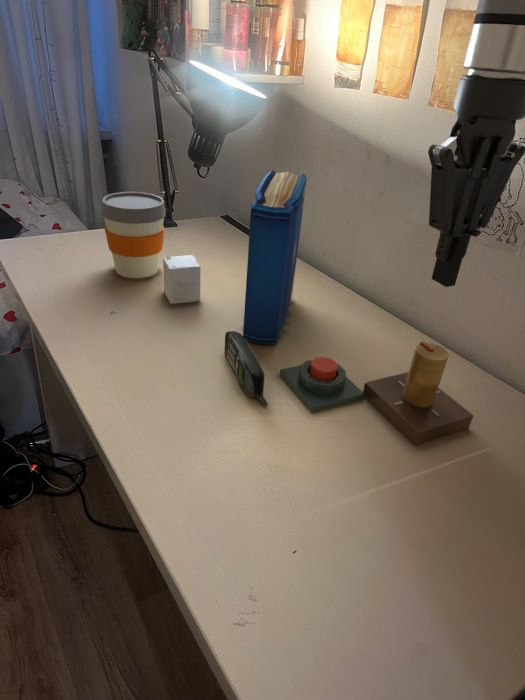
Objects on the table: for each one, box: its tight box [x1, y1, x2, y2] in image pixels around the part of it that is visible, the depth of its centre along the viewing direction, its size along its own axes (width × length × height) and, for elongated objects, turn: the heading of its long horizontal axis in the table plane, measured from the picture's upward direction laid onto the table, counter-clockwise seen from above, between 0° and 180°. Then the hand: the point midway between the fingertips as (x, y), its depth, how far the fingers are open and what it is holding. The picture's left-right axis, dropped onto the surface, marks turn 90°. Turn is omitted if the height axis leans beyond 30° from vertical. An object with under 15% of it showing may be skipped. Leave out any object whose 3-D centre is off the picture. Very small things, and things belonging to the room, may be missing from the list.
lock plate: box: [362, 371, 474, 447], centre depth 74 cm, size 10×12×3 cm
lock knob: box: [403, 341, 450, 407], centre depth 71 cm, size 4×4×8 cm
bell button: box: [310, 356, 338, 381], centre depth 76 cm, size 4×4×2 cm
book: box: [242, 169, 308, 345], centre depth 88 cm, size 22×7×25 cm, turn 171°
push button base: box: [278, 359, 365, 414], centre depth 77 cm, size 9×10×3 cm
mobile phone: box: [224, 330, 269, 407], centre depth 76 cm, size 5×3×15 cm
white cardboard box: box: [162, 254, 201, 305], centre depth 98 cm, size 6×6×7 cm
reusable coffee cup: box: [101, 191, 167, 279], centre depth 105 cm, size 12×13×15 cm
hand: (443, 281), depth 65 cm, fingers closed
